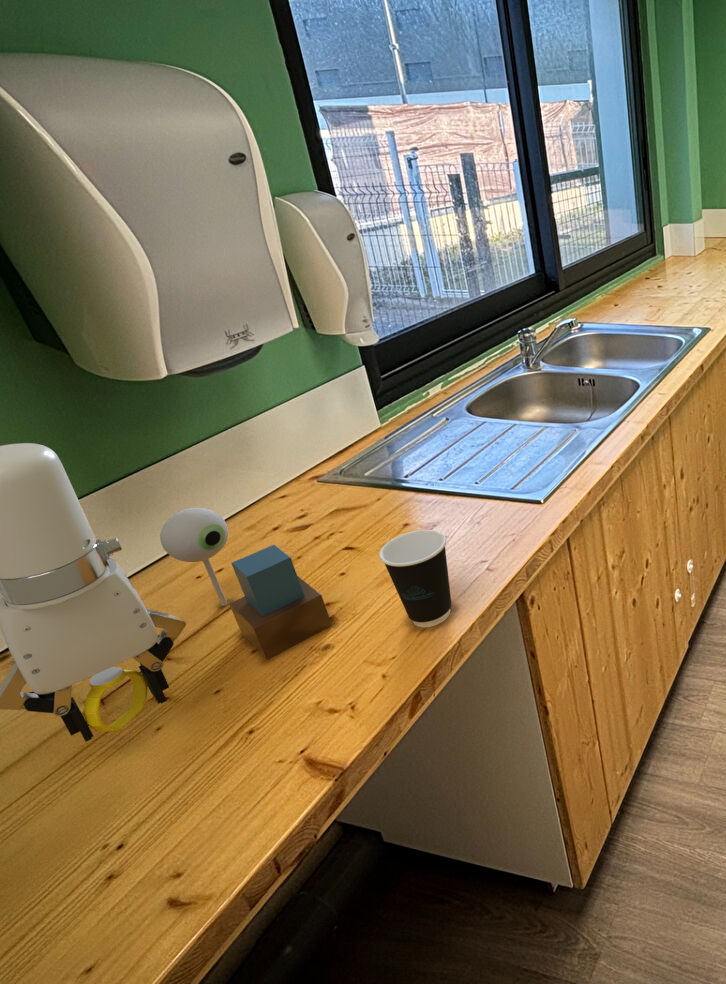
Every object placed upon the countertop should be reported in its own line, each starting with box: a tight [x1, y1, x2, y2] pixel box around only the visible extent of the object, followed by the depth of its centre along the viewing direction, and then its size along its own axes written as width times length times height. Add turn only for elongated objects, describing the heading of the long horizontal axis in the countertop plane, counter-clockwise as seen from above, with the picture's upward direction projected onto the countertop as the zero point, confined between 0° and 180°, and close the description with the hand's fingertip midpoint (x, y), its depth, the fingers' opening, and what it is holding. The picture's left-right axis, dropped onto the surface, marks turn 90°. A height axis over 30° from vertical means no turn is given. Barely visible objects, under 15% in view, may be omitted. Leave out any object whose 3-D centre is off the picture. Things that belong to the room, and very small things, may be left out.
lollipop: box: [159, 507, 229, 607], centre depth 93 cm, size 7×7×15 cm
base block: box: [228, 575, 333, 661], centre depth 90 cm, size 8×8×5 cm
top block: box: [231, 544, 304, 616], centre depth 88 cm, size 5×5×6 cm
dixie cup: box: [378, 529, 452, 628], centre depth 90 cm, size 8×8×11 cm
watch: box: [83, 666, 149, 732], centre depth 72 cm, size 6×3×6 cm, turn 177°
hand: (123, 713), depth 73 cm, fingers closed on watch, 5 cm apart
